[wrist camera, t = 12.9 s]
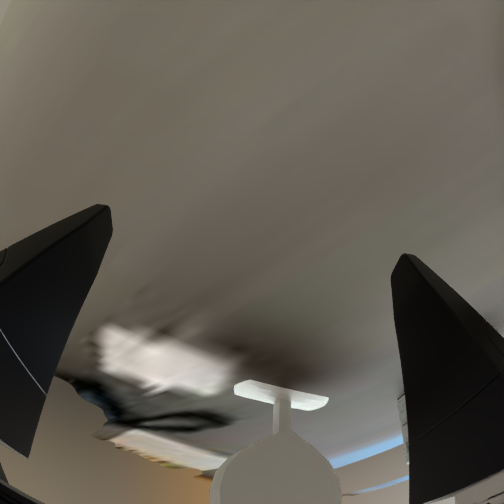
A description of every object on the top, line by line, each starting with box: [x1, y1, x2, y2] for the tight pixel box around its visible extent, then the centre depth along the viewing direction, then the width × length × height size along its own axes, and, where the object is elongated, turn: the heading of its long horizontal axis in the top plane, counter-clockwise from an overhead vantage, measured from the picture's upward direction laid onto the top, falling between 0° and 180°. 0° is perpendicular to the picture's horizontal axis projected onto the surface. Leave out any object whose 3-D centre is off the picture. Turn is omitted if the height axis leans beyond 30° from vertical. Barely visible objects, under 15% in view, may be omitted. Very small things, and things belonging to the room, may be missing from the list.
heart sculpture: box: [209, 379, 342, 504], centre depth 32 cm, size 16×5×18 cm, turn 66°
